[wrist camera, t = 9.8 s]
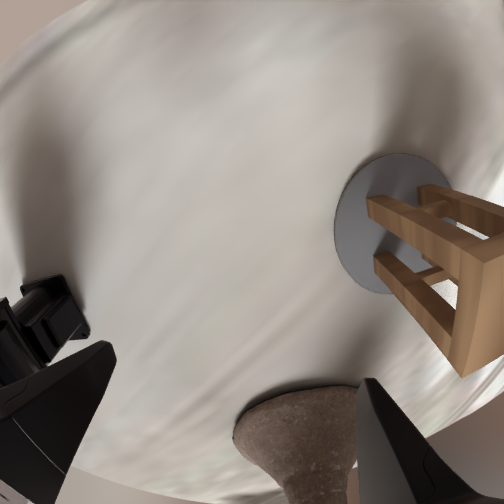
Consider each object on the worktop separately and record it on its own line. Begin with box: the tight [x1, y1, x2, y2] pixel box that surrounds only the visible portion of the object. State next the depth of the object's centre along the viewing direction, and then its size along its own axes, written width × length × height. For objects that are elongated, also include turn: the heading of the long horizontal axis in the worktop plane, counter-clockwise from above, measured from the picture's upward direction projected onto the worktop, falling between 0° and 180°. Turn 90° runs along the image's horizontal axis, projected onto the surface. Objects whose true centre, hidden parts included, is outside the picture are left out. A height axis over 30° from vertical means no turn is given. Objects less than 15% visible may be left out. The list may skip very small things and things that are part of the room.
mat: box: [334, 154, 457, 294], centre depth 20 cm, size 11×11×1 cm
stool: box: [365, 184, 504, 378], centre depth 14 cm, size 6×6×12 cm
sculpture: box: [232, 385, 359, 504], centre depth 19 cm, size 17×17×20 cm
